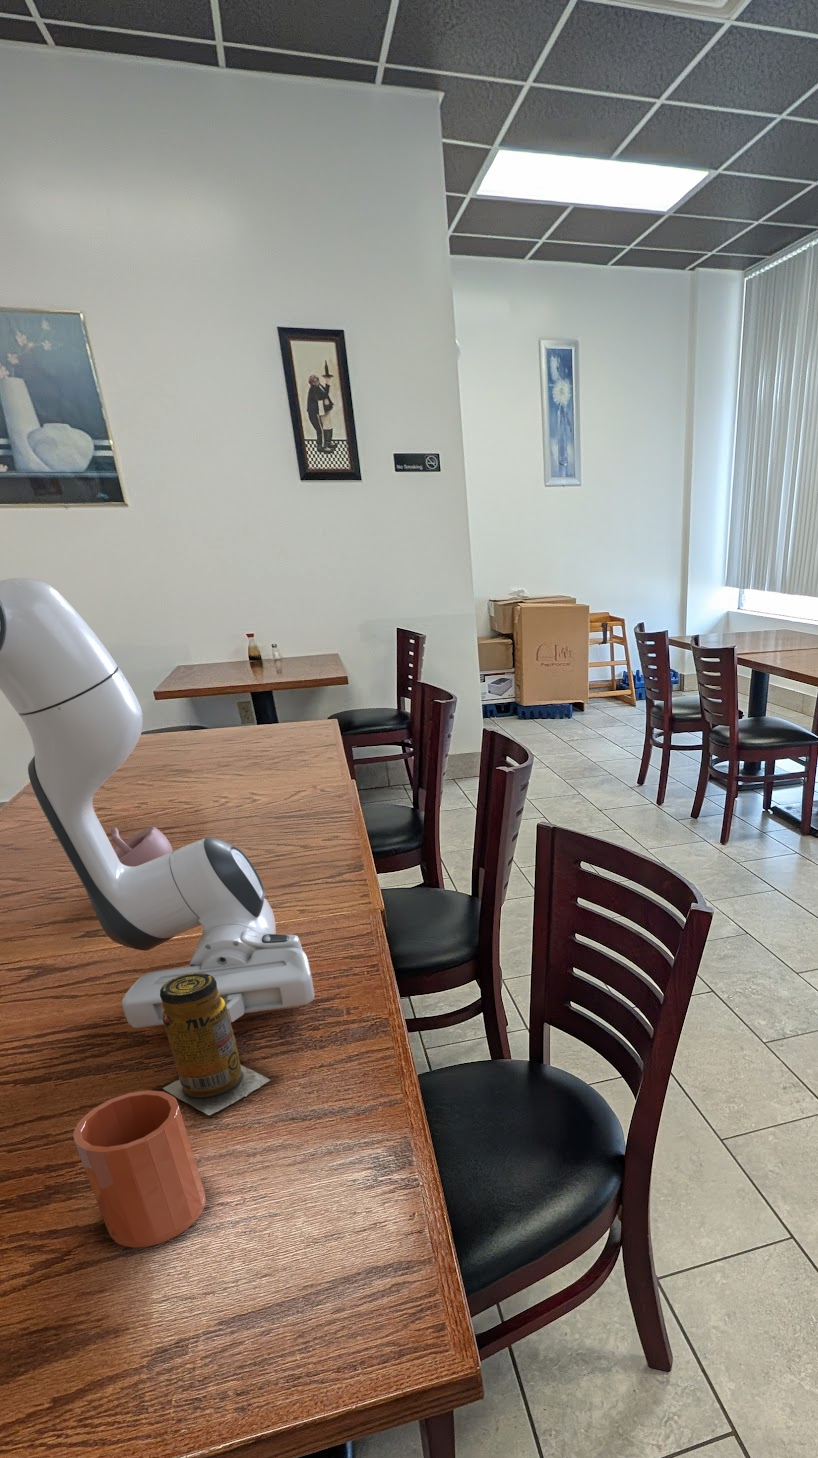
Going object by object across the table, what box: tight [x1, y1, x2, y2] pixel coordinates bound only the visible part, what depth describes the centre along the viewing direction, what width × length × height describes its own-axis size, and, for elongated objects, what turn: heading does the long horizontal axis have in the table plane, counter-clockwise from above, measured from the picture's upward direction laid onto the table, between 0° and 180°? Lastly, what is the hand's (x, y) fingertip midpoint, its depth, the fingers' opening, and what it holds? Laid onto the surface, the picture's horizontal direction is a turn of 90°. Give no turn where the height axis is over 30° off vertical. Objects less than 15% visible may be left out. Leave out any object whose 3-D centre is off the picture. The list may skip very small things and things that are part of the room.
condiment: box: [160, 973, 271, 1116], centre depth 84 cm, size 7×8×12 cm
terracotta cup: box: [72, 1089, 207, 1249], centre depth 68 cm, size 8×8×10 cm
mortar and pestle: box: [110, 825, 174, 867], centre depth 134 cm, size 12×12×12 cm
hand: (212, 1026), depth 87 cm, fingers closed
